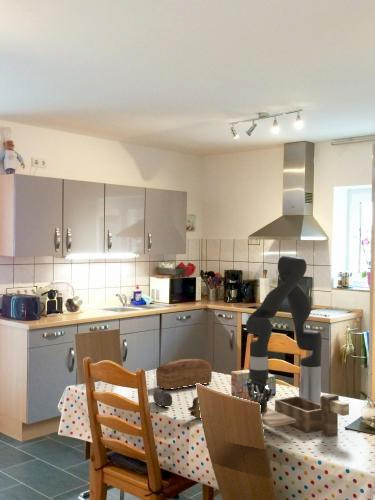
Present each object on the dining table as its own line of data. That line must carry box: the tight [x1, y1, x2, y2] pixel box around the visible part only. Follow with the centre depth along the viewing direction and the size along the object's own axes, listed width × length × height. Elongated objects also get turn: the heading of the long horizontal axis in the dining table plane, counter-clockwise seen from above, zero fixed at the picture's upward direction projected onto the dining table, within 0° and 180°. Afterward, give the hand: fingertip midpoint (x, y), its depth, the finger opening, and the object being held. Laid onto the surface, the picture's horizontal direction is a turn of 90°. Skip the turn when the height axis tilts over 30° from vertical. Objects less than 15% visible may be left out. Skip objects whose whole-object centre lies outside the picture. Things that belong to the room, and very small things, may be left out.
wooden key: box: [320, 397, 350, 417], centre depth 210 cm, size 12×3×4 cm, turn 29°
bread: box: [155, 358, 213, 390], centre depth 289 cm, size 12×31×14 cm, turn 123°
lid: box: [251, 396, 296, 428], centre depth 217 cm, size 20×12×6 cm, turn 29°
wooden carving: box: [187, 396, 200, 419], centre depth 234 cm, size 16×5×10 cm, turn 141°
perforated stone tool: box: [152, 389, 173, 407], centre depth 253 cm, size 15×5×7 cm, turn 25°
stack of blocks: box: [230, 369, 277, 399], centre depth 269 cm, size 21×6×12 cm, turn 112°
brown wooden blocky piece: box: [274, 393, 340, 438], centre depth 222 cm, size 28×12×15 cm, turn 29°
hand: (258, 410), depth 221 cm, fingers closed on lid, 3 cm apart
